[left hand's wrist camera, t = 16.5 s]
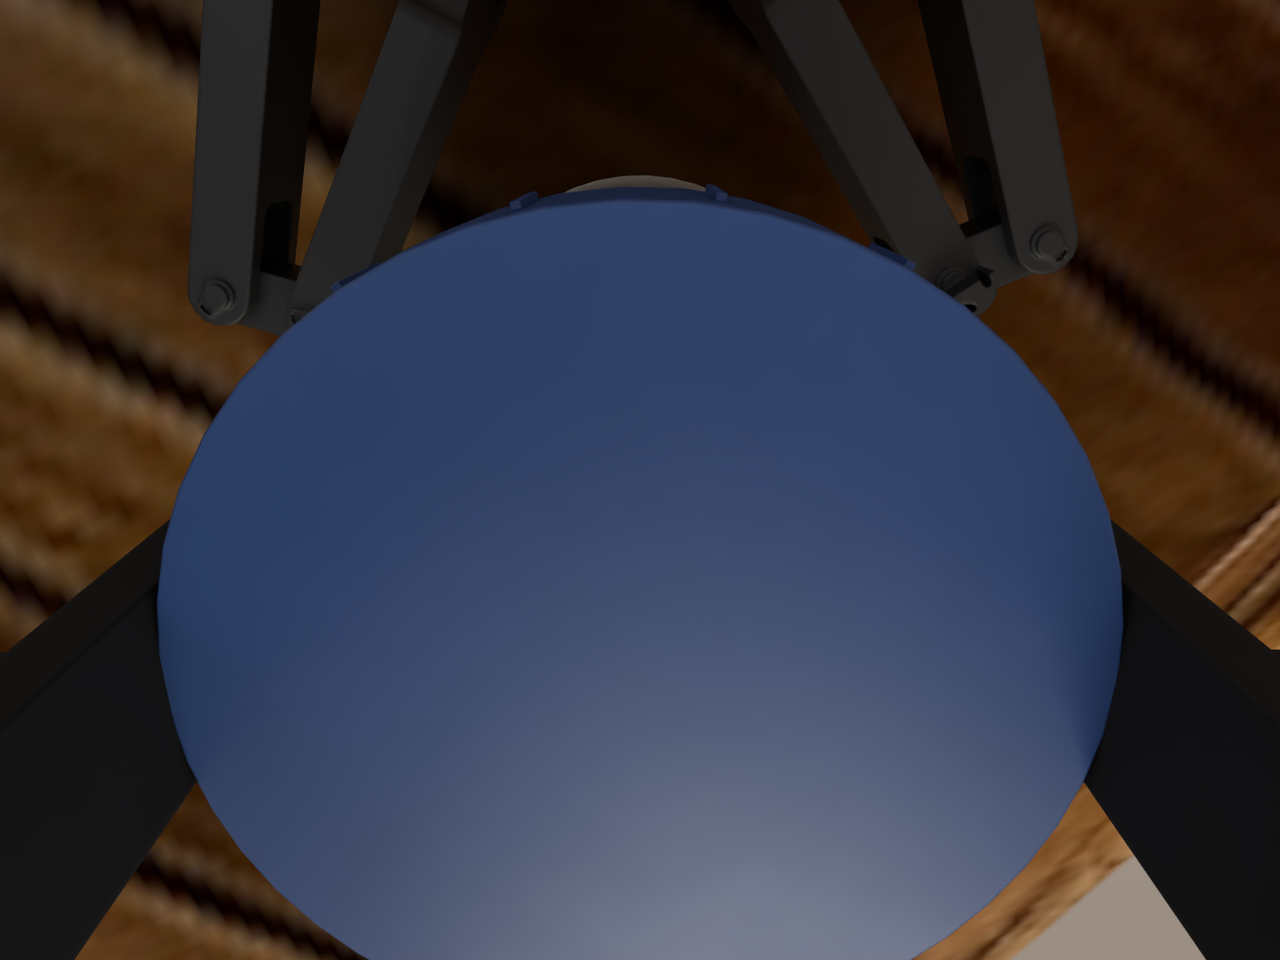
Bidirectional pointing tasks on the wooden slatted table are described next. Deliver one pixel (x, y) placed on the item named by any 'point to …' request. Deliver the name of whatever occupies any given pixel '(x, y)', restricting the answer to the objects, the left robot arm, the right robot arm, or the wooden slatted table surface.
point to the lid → (640, 595)
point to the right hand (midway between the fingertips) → (651, 592)
